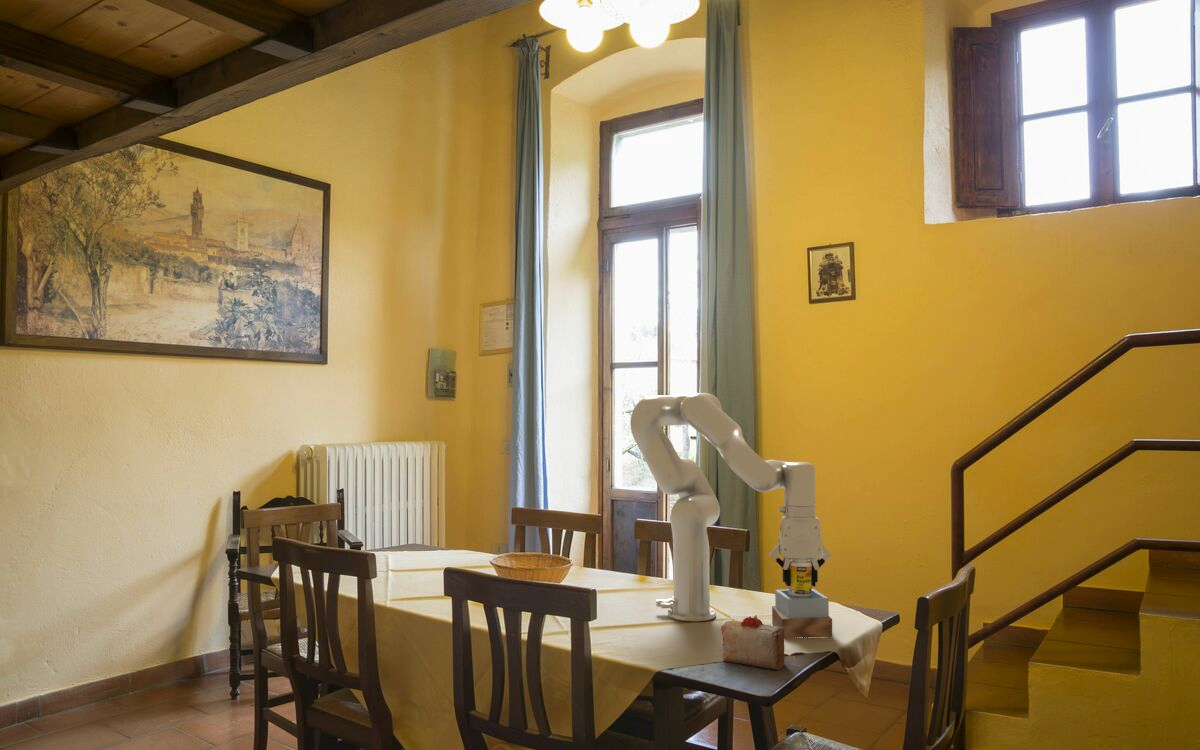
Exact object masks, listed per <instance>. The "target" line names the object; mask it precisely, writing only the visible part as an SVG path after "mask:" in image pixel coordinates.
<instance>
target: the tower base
mask: <svg viewBox="0 0 1200 750" xmlns="http://www.w3.org/2000/svg"><path fill="white" fill-rule="evenodd" d="M771 619H772V620H771V624H772V626H778V627H782V628H784V631H785V632H784V639H800V638H799V637H803V638H802V639H809V638H808V637H832V638H833V618H832V617H831V616H830V615H829V617H816V618H788V617H786V616H785V615H784V614H783V613H781V612H780V611H779V610H778V609H776V608H775V606H774V605H772V606H771ZM785 637H786V638H785ZM787 637H788V638H787ZM791 637H792V638H791ZM793 637H794V638H793ZM795 637H796V638H795ZM797 637H798V638H797ZM804 637H805V638H804ZM806 637H807V638H806Z"/></svg>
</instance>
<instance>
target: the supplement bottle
mask: <svg viewBox="0 0 1200 750" xmlns="http://www.w3.org/2000/svg"><path fill="white" fill-rule="evenodd" d="M789 570H790V586H788V589H789V594H791V595H793V596H797V597H807V596H810V595H811V593H812V589H813V588H812V587H813V586H812V563H811V562H810V560H809V559H791V561H790V564H789Z"/></svg>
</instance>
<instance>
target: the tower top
mask: <svg viewBox="0 0 1200 750" xmlns="http://www.w3.org/2000/svg"><path fill="white" fill-rule="evenodd" d="M774 591H775V592H774V593H775V596H774V597H775V598H774V599H775V600H774V601H775V603H774V604H775V608H776V609H778V610H779V611H780V612H781V613H783V614H784V615H785V616H786V617H788V618H816V617H829V616H830V612H829V610H830V608H829V607H830V605H829V603H830V602H829V597H827V596H826V595H824V594H823V593H821V592H819V591H818V590H816V589H815V588H812V593H811V595H810V596H807V597H797V596H793V595H791V594H789V588H788V589H775V590H774Z"/></svg>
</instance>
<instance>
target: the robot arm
mask: <svg viewBox="0 0 1200 750" xmlns="http://www.w3.org/2000/svg"><path fill="white" fill-rule="evenodd" d="M629 423H630V431H631V434H632V437H633V440H634V441H635V444H636V445H637V447H638V448H639V449H638V450H639V451H640V452H641V454H642V457H643V458H644V460H645V462H646V465H647V466H648V468H649V470H650V472H651V474H652V476H653V478H654V480H655V482H656V484H657V486H658V488H659V489H660V491H661V492H663V493H664V494H665V495H669V496H674V495H675V496H676V495H678V497H679V499H678V500H677V501H676V502H675V503H674V504H673V506H672V508H671V510H670V516H669V517H670V518H669V519H670V526H671V534H672V546H673V548H672V550H673V551H672V554H673V555H672V556H673V557H672V559H673V568H672V569H673V595H671V598H667V599H656V600H655V602H656V603H655V605H656V608H661V609H668V610H667V616H668V617H670V618H671V619H674V620H678V621H682V622H703V621H710V620H712V619H714V618H716V610H715V609H713V608H712V607H710V605H711V604H710V599H711V598H710V541H709V535H708V529H707V528H708V527H710V526H713V525H715V523H716V522H717V521H718V520H719V517H720V514H721V507H720V503H719V500H718V498H717V496H716V494H715V493H714V490H713V489H712V486H710V483H709V481H708V478H706V476H705V474H704V471H702V469H701V467H700V466H699V465H698V464H697V463H696V462H695V461H694V460H693V459H690V458H688V457H680V456H679V454H678V452H677V451H676V449H675V448H674V445H673V443H672V441H671V440H670V438H669V437H668V436H667V435H666V433H665V432H664V430H663V429H662V428H663V427H668V426H683V425H684V426H686V425H687V426H688V425H689V426H690V427H692V428H693V429H694V430H695V431H696V432H697V433H699V435H701V436H702V437H703V438H704V439H705V440H706V441H708V442H709V444H711V445H712V446H713V447H714V448H715V449H716V451H718V452H719V454H720V456H721V458H722V459H723V461H724V462H725V463H726V464H727V466H728V467H729V468H730V469H731V471H733V473H734V474H735V475H737V477H739V478H740V479H741V480H742V481H743V482H744V483H746V484H747V485H748V486H749V488H751V489H753V490H755V491H757V492H761V493H767V492H770V491H774V490H777V489H784V492H783V493H784V498H783V499H784V501H783V502H784V503H783V506H779V507H778V514H780V513H781V514H783V515H784V516H782V517H781V520H780V524H779V525H780V526H779V534H778V543H776V545H775V546H774V547H773V549H772V550H770V552H768V555H769V557H771V559H773V561H774V562H776V563H777V564H778V565H779V566H780V567H781V568H782V582H783V583H784V584H785V586H786V587H789V586H790V570H789V564H790V561H791V560H792V559H808V560H809V561H810V562H811V563H812V587H816V584H817V583H818V582H819V581H818V580H819V579H818V575H819V573H818V571H819V570H820V568H821V566H823V565H824V564H825V562H827V561H828V560H830V558H831V557H832V554H831V553H830V552H829V551H828V549H827V548H826V547H825V546H824V545H823V539H822V537H823V536H822V529H821V522H820V518H819V517H817V516H816V467H815V464H813V463H811V462H807V461H791V462H790V461H783V460H778V459H767V460H764V459H763V458H762V457H761V456H760V455H758V453H756V452H755V451H754V450H753V449H752V448H751V447H750V445H749V444H748V443H747V442H746V440H745V438H744V435H743V430H742V428H741V426H740V425H739V424H738V423H737V422H736V421H735V420H734V419H733V418H731V417H730V416H729V415H728V414H727V413H726V412H724V411H723V407H722V404H721V401H720V400H719V399H718V397H717V396H715V395H714V394H712V393H708V392H695V393H691V394H678V395H677V394H675V395H673V394H671V395H668V394H667V395H663V394H661V395H657V394H655V395H649V396H645V397H643V398H642V399H640V400H639V401H638V402H637V403H636V404H635V406H634V407H633V410H632V412H631V416H630V422H629ZM778 553H779V555H781V556H782V557H783V558H782V559H781V557H779V556H778Z"/></svg>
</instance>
